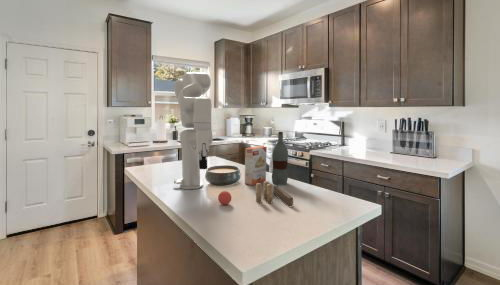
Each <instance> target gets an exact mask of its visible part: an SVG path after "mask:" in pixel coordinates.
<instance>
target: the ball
mask: <svg viewBox="0 0 500 285" xmlns="http://www.w3.org/2000/svg"><path fill="white" fill-rule="evenodd" d="M217 200H218V202H219V203H220V204H221V205H228V204H230V203H231V201H232V195H231V193H230V192H229V191H225V190H223V191H221V192H219V194H218V198H217Z"/></svg>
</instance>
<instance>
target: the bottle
mask: <svg viewBox="0 0 500 285" xmlns="http://www.w3.org/2000/svg"><path fill="white" fill-rule="evenodd" d="M277 133H278V134H277V136H278V137H277V138H278V139H277V142H276V144H275V145H274V147H273V149H272V152H271V153H272V154H271V157H272V158H271V159H272V160H271V161H272V171H271V182H272V185H274V186H285V185H287V183H288V178H289V177H288V176H289V175H288V160H289V149H288V148H287V146H286V144H285V143H284V132H283V131H278V132H277Z"/></svg>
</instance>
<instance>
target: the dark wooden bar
mask: <svg viewBox="0 0 500 285" xmlns="http://www.w3.org/2000/svg"><path fill="white" fill-rule="evenodd" d="M273 194H274V195H275V197H277V196H278V197H279V198H280V199H281V200H282V202H283V201H284V202H285V203H286V204H287V205H288V206H292V205H293V206H294V197H293V196H292V195H290V194H289V193H288V192H286V191H285V190H284V189H282V187H279V185H273ZM278 197H277V198H278ZM279 198H278V199H279ZM280 199H279V200H280ZM281 200H280V201H281ZM284 202H283V203H284ZM285 203H284V204H285ZM286 204H285V205H286ZM287 205H286V206H287ZM288 206H287V207H288Z"/></svg>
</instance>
